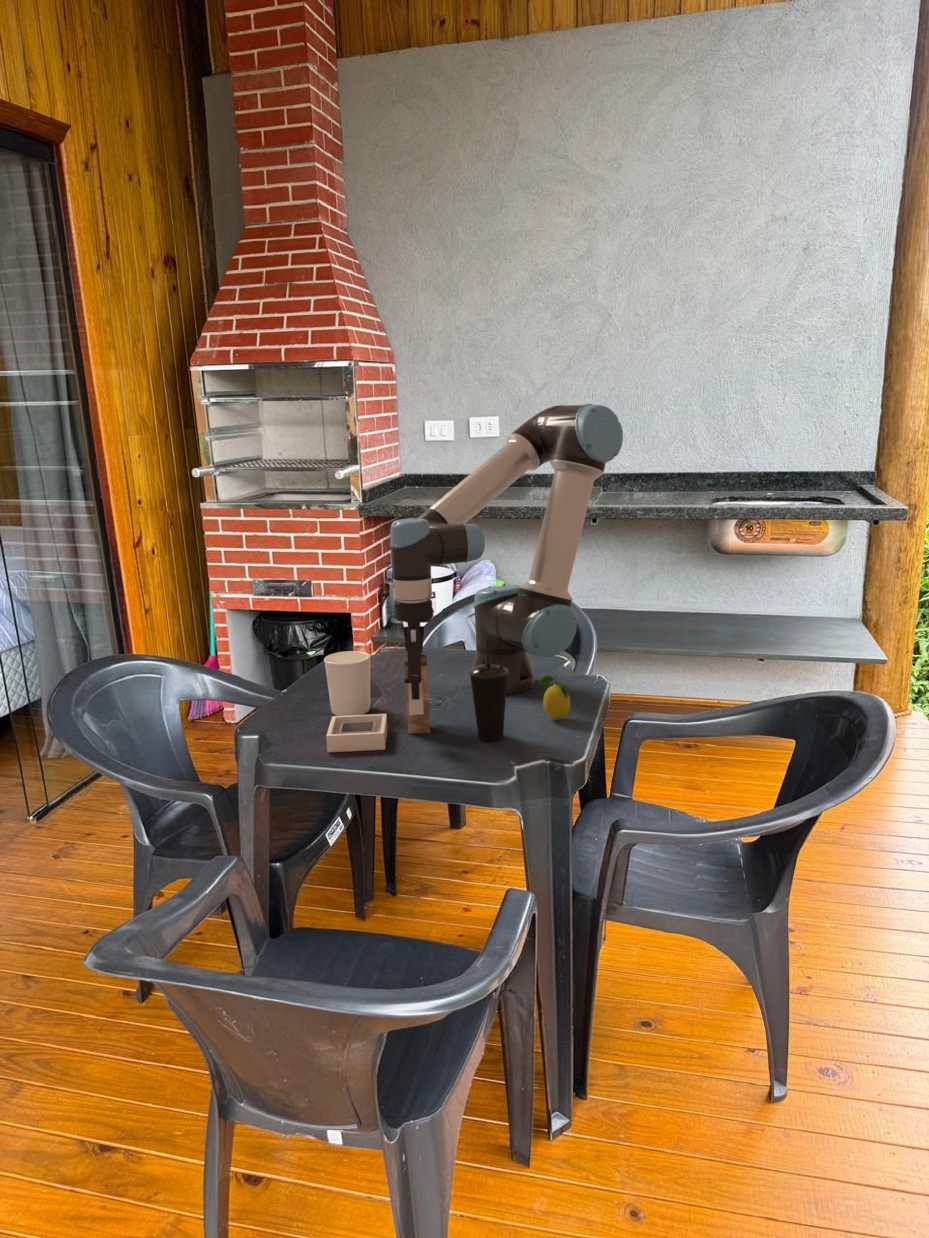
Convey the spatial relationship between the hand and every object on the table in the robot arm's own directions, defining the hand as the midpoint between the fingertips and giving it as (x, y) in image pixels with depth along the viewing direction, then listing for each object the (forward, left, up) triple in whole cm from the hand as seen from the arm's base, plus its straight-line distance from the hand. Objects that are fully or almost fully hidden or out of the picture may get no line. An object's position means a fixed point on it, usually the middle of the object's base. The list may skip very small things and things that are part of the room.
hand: (416, 702), depth 177 cm
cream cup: (+15, -14, -6) cm, 21 cm away
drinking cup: (-14, +6, -6) cm, 17 cm away
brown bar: (0, 0, -6) cm, 6 cm away
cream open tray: (+12, +4, -6) cm, 14 cm away
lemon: (-28, -2, -6) cm, 29 cm away
